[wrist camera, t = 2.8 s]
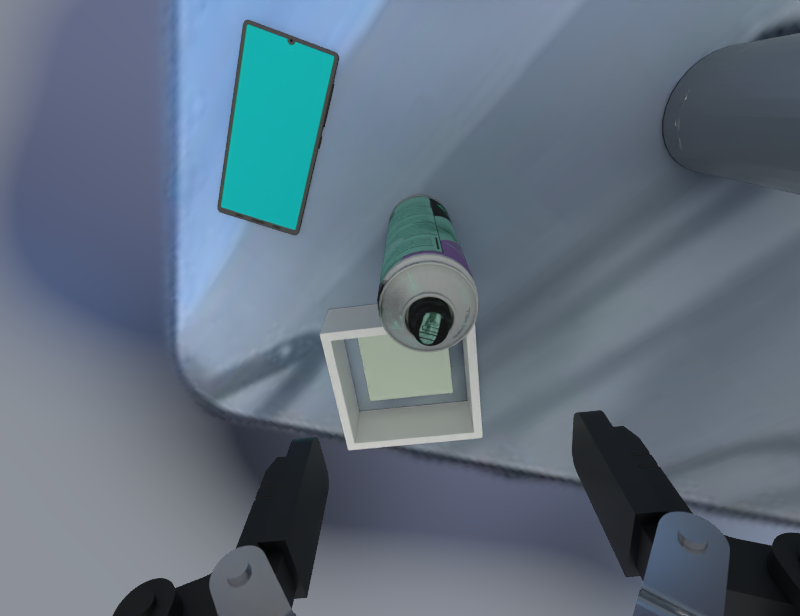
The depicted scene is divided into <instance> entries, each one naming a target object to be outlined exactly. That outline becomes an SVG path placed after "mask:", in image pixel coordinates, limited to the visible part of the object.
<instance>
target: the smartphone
mask: <svg viewBox="0 0 800 616" xmlns="http://www.w3.org/2000/svg"><path fill="white" fill-rule="evenodd" d="M338 60H339V56H338V54H337V53H335V52H333V51H331V50H328V49H325V48H323V47H320V46H317V45H315V44H312V43H309V42H306V41H304V40H301V39H298V38H296V37H293V36H290V35H288V34H285V33H282V32H280V31H277V30H274V29H272V28H269V27H266V26H264V25H261V24H258V23H255V22H253V21H250V20H245V21H244V23H243V29H242V36H241V43H240V51H239V58H238V65H237V72H236V79H235V86H234V93H233V100H232V107H231V115H230V122H229V129H228V136H227V143H226V150H225V157H224V164H223V172H222V179H221V186H220V193H219V200H218V211H219V212H221V213H224V214H227V215H231V216H234V217H237V218H240V219H244V220H247V221H250V222H253V223H256V224H260V225H263V226H266V227H269V228H272V229H276V230H279V231H282V232H285V233H288V234H292V235H297V234H298V233H299V230H300V226H301V222H302V217H303V213H304V209H305V204H306V200H307V195H308V191H309V187H310V182H311V178H312V174H313V169H314V165H315V161H316V156H317V152H318V149H319V148H320V144H321V140H322V137H321V134H322V130H323V127H325V122H326V118H327V114H328V109H329V105H330V101H331V96H332V92H333V88H334V84H333V82H334V78H335V73H336V69H337V65H338Z"/></svg>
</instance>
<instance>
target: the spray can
mask: <svg viewBox="0 0 800 616" xmlns="http://www.w3.org/2000/svg"><path fill="white" fill-rule="evenodd" d="M377 301H378V311H379V317H380V321H381V324H382V326H383V328H384V330H385V331H386V333H387V334H388V335H389V336H390V338H392V339H393V340H394V341H395V342H396V343H398V344H399V345H401V346H403V347H405V348H407V349H410V350H413V351H418V352H437V351H442V350H445V349H448V348H450V347H452V346H454V345H456V344H458V343H459V342H460V341H461V340H463V339H464V338H465V337H466V336H467V335H468V333H469V332H470V331H471V330H472V328H473V326H474V324H475V322H476V318H477V315H478V293H477V288H476V286H475V283H474V281H473V278H472V275H471V273H470V270H469V268H468V265H467V262H466V260H465V257H464V255H463V252H462V249H461V247H460V244H459V242H458V239H457V236H456V234H455V231H454V229H453V226H452V223H451V221H450V218H449V216H448V213H447V211H446V209H445V208H444V207H443V205H442V204H441V203H440V202H439V201H437V200H436V199H434V198H432V197H429V196H425V195H415V196H410V197H408V198H406V199H404V200H402V201H401V202H400V203H399V204H398V205H397V206H396V207H395V209H394V210H393V212H392V214H391V217H390V220H389V227H388V233H387V240H386V246H385V253H384V259H383V266H382V272H381V279H380V286H379V292H378V299H377Z"/></svg>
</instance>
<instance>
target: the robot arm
mask: <svg viewBox="0 0 800 616" xmlns="http://www.w3.org/2000/svg"><path fill="white" fill-rule="evenodd" d="M663 134H664V139H665V144H666V146H667V149H668V151H669V153H670V155H671V156H672V157H673V158H674V159H675V160H676V161H677V163H679V164H681V165H682V166H684V167H685V168H687V169H690V170H693V171H697V172H701V173H706V174H710V175H715V176H719V177H723V178H727V179H731V180H736V181H740V182H745V183H749V184H754V185H758V186H763V187H768V188H772V189H777V190H781V191H786V192H790V193H795V194H799V195H800V33H798V34H793V35H787V36H782V37H775V38H770V39H765V40H760V41H754V42H749V43H744V44H738V45H733V46H728V47H726V48H723V49H720V50H717V51H715V52H713V53H711V54H710V55H708V56H706V57H705V58H703V59H701V60H700V61H699V62H698V63H697V64H695V65H694V66H693V67H692V68H691V69H690V70H689V71H688V72H687V73H686V74H685V76H684V77H683V78H682V79H681V80H680V82H679V83H678V85H677V86H676V88H675V90H674V91H673V93H672V95H671V97H670V100H669V102H668V105H667V107H666V111H665V116H664V121H663ZM572 456H573V462H574V466H575V469H576V471H577V474H578V476H579V478H580V480H581V482H582V484H583V487H584V489H585V491H586V493H587V495H588V497H589V499H590V501H591V503H592V506H593V508H594V510H595V512H596V514H597V516H598V518H599V521H600V523H601V525H602V527H603V529H604V531H605V533H606V536H607V538H608V540H609V542H610V544H611V546H612V548H613V551H614V552H615V555H616V557H617V559H618V561H619V563H620V566H621V568H622V570H623V572H624V574H625V576H626V577H633V576H641V578H642V580H643V584H642V588H641V590H640V592H639V594H638V598H637V602H636V605H635V610H634V613H633V616H800V533H784V534H781V535H779V536H777V537H776V538H775V539H774V542H773V544H772V546H770V545H765V544H760V543H755V542H750V541H745V540H740V539H736V538H732V537H728V536H726V535H723V533H721V531H720V530H719V529H718V528H717V527H716V526H715V525H713V524H712V523H710V522H709V521H707V520H706V519H704V518H702V517H700V516H697V515H695V514H693V513H692V512H691V511H690V509H689V508H688V506H687V505H686V504H685V502H684V501H683V499H682V498H681V496H680V495H679V494H678V492H677V491H676V489H675V488H674V487H673V485H672V484H671V482H670V481H669V479H668V478H667V477H666V475H665V474H664V472H663V471H662V469H661V468H660V467H658V465H657V462H656V461H655V460H654V458H653V457H652V455H650V454H649V451H648V450H647V448H646V447H645V445H644V444H643V443H642V441H641V440H640V438H639V437H637V436H636V435H635V434H633V433H632V432H631V431H629V430H628V429H627V428H625V427H624V426H619V427H613V426H612V425H611V423H610V422H609V420H608V418H607V417H606V415H605V414H604V413H603V412H602V411H600V410H599V411H589V412H578V413H575V414H574V421H573V440H572ZM328 489H329V478H328V471H327V467H326V464H325V461H324V457H323V453H322V450H321V446H320V442H319V440H318V438H317V437H310V438H299V439H293V440H292V442H291V444H290V447H289V450H288V453H287V456H286V457H277V458H276V459H275V461H274V462H273V463H272V464H271V465H270V467H269V468H268V469H267V470H266V472H265V474H264V477H263V480H262V482H261V485H260V488H259V490H258V492H257V495H256V500H255V501H254V503H253V505H252V508H251V511H250V513H249V516H248V518H247V521H246V524H245V526H244V529H243V532H242V534H241V537H240V539H239V542H238V545H237V547H236V549H234V550H233V551H231V552H229V553H228V554H227V555H225V556H224V557H223V558H222V559H221V560H220V561H219V563H218V564H217V565H216V566H215V568H214V570H213V572H212V573H211V574H209V575H207V576H205V577H203V578H200V579H198V580H195V581H192V582H190V583H187V584H185V585H183V586H180V587H177V588H175V587H174V585H173V584H172V582H170V581H169V580H167V579H164V578H157V579H152V580H150V581H147V582H145V583H143V584H141V585H139V586H138V587H137V588H135V589H134V590H132V591H131V592H130V593H129V594H128V595H127V596H126V597H125V598H124V599H123V600H122V602H121V603H120V604H119V605H118V607H117V609H116V611H115V612H114V614H113V616H296V615H295V613H293V611H292V605H293V601H294V599H296V598H307V595H308V590H309V585H310V580H311V575H312V570H313V565H314V560H315V555H316V550H317V545H318V540H319V535H320V530H321V525H322V520H323V515H324V510H325V505H326V500H327V495H328Z"/></svg>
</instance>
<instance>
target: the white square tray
mask: <svg viewBox="0 0 800 616" xmlns="http://www.w3.org/2000/svg"><path fill="white" fill-rule="evenodd" d="M320 337H321V341H322V345H323V349H324V353H325V357H326V362H327V366H328V370H329V374H330V378H331V382H332V386H333V390H334V394H335V398H336V402H337V406H338V410H339V415H340V419H341V423H342V427H343V431H344V435H345V439H346V443H347V447H348V450H357V449H367V448H378V447H389V446H400V445H411V444H421V443H432V442H443V441H454V440H465V439H475V438H482V423H481V408H480V393H479V378H478V363H477V348H476V333H475V324H474V326H473V328H472V330H471V331H470V332H469V333H468V335H467V336H466V337H465V338H464V339H463V340H462V341H463V353H464V365H465V377H466V389H467V401H460V402H450V403H439V404H429V405H419V406H409V407H399V408H389V409H379V410H369V411H359V406H358V402H357V397H356V393H355V388H354V384H353V379H352V375H351V370H350V365H349V361H348V356H347V352H346V347H345V343H344V339H351V338H358V342H359V347H360V352H361V357H362V362H363V367H364V372H365V377H366V381H367V386H368V391H369V396H370V401H375V400H385V399H395V398H405V397H415V396H425V395H435V394H444V393H453V389H452V379H451V368H450V358H449V348H448V349H445V350H442V351H437V352H418V351H413V350H410V349H407V348H405V347H403V346H401V345H399V344H398V343H396V342H395V341H394V340H393V339H392V338H390V336H389V335H388V334H387V333H386V331H385V330H384V328H383V326H382V324H381V321H380V317H379V311H378V304H372V305H363V306H355V307H346V308H338V309H329V311H328V314H327V316H326V319H325V322H324V324H323V327H322V329H321V332H320Z"/></svg>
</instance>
